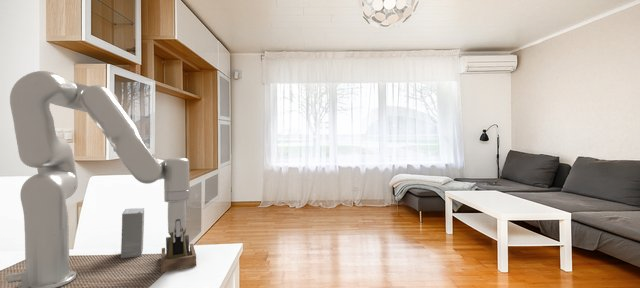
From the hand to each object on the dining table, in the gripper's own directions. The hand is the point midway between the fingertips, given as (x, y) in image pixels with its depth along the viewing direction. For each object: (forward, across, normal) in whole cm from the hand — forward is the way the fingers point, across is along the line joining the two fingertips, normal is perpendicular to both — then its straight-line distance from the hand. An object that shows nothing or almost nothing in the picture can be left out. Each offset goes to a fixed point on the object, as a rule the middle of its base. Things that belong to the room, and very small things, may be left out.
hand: (177, 251), depth 103 cm
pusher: (+4, -9, 0) cm, 10 cm away
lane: (+4, -3, 0) cm, 5 cm away
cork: (+3, 0, 0) cm, 3 cm away
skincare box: (+4, -19, -14) cm, 24 cm away
